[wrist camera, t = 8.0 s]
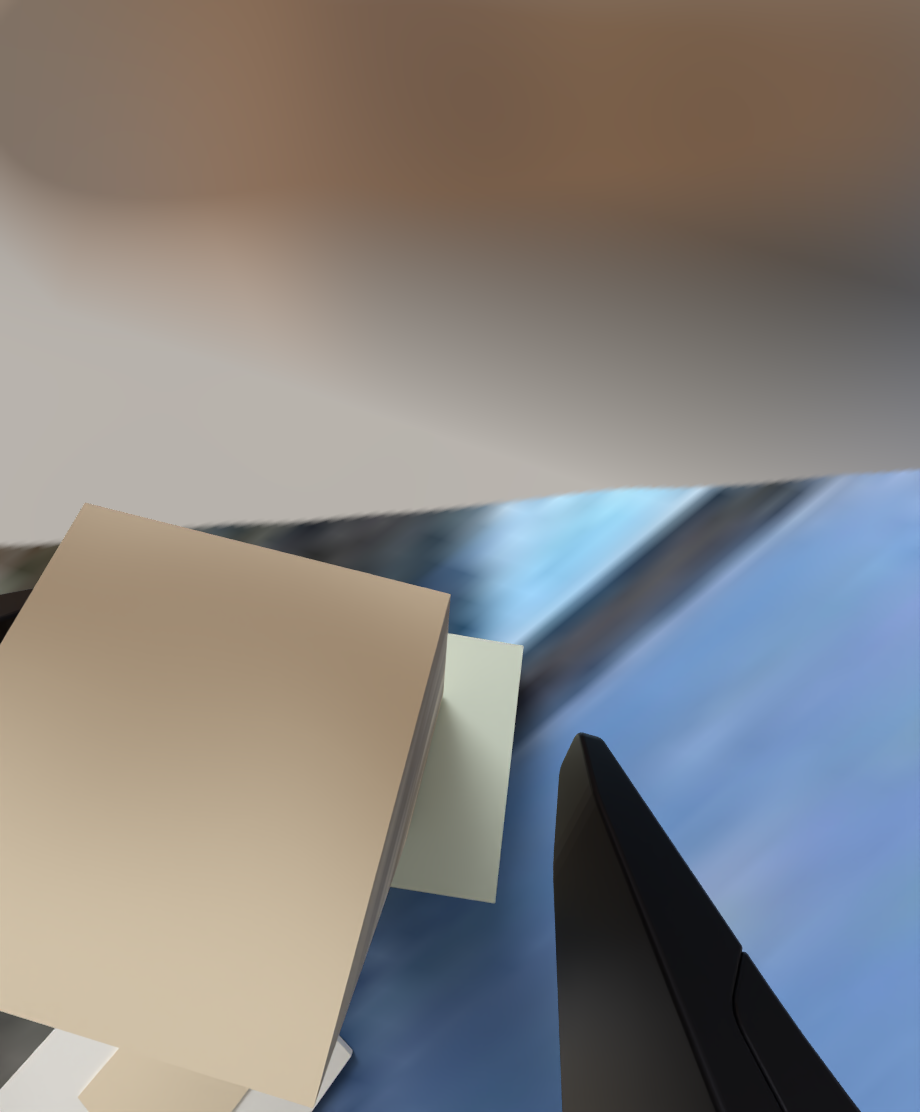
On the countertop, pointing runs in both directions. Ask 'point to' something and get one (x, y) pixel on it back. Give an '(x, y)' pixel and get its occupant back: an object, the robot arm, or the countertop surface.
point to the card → (132, 1082)
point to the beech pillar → (206, 793)
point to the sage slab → (465, 775)
